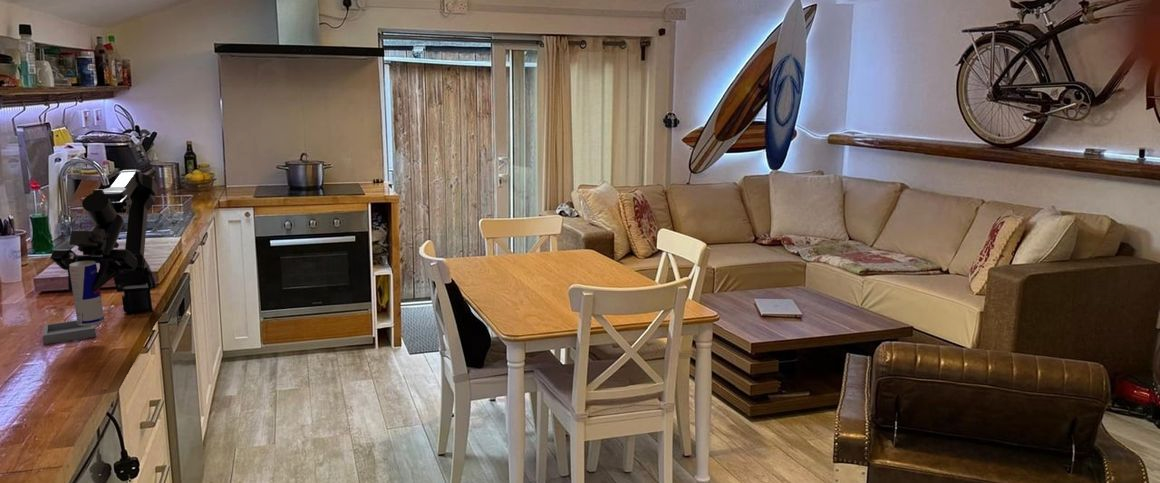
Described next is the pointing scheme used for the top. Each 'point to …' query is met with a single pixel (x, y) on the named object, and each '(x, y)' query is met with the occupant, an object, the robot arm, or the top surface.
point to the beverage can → (86, 293)
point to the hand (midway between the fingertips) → (82, 290)
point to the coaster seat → (66, 332)
